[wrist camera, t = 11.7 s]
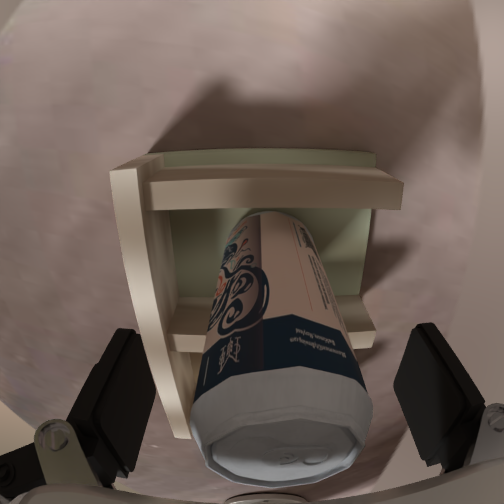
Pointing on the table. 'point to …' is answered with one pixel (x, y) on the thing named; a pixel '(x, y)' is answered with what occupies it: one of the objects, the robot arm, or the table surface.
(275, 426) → the beer can
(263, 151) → the comb rack
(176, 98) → the table surface
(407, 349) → the robot arm
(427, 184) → the table surface
